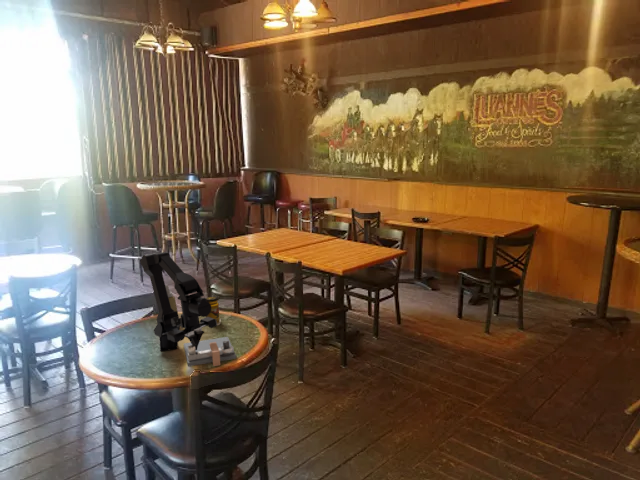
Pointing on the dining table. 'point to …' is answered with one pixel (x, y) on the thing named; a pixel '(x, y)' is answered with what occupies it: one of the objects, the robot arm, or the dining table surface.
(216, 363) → the bracket
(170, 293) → the squeeze bottle
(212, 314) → the condiment
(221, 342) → the slate board
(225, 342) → the swing arm
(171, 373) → the dining table surface
